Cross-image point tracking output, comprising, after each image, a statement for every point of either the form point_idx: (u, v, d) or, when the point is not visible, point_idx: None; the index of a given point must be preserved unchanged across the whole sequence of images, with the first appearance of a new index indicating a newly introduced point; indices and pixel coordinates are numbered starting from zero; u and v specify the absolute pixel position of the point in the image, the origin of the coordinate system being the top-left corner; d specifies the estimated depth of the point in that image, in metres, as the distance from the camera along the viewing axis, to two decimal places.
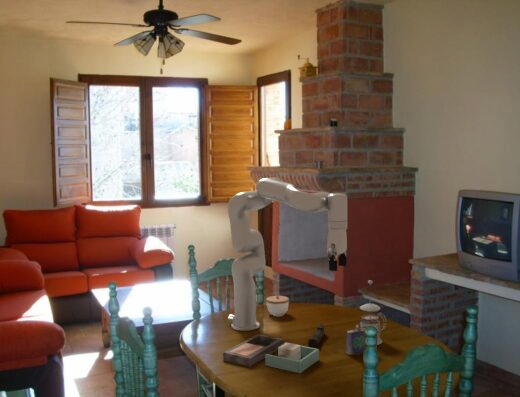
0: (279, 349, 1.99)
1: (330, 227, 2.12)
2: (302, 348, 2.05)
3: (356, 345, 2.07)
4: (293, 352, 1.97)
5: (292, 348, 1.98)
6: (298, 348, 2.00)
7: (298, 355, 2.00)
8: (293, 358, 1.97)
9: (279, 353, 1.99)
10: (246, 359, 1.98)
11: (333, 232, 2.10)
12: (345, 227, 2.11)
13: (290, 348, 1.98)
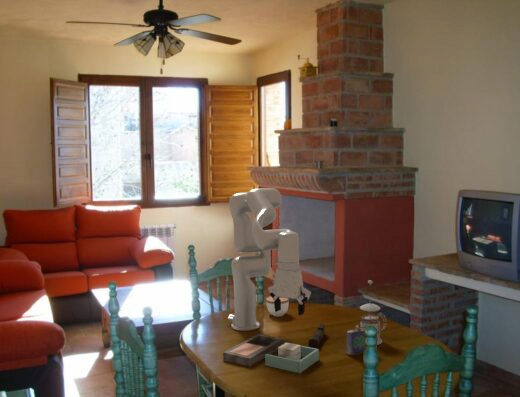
0: (279, 349, 1.99)
1: (294, 269, 1.95)
2: (302, 348, 2.05)
3: (356, 346, 2.07)
4: (293, 352, 1.97)
5: (292, 348, 1.98)
6: (298, 348, 2.00)
7: (298, 355, 2.00)
8: (293, 358, 1.97)
9: (279, 353, 1.99)
10: (246, 359, 1.98)
11: (300, 273, 1.96)
12: None
13: (290, 348, 1.98)
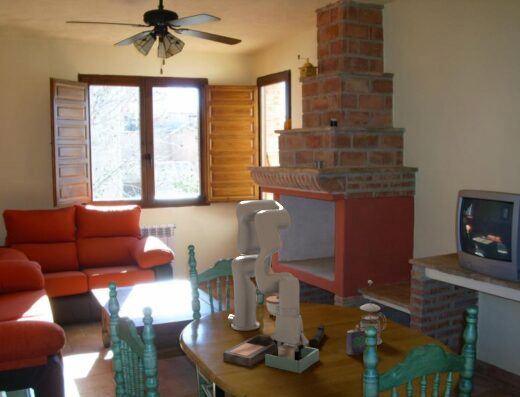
0: (279, 349, 1.99)
1: (294, 315, 1.96)
2: None
3: (356, 346, 2.07)
4: (293, 352, 1.97)
5: (292, 348, 1.98)
6: None
7: None
8: (293, 358, 1.97)
9: (279, 353, 1.99)
10: (246, 359, 1.98)
11: (300, 319, 1.97)
12: None
13: (290, 348, 1.98)
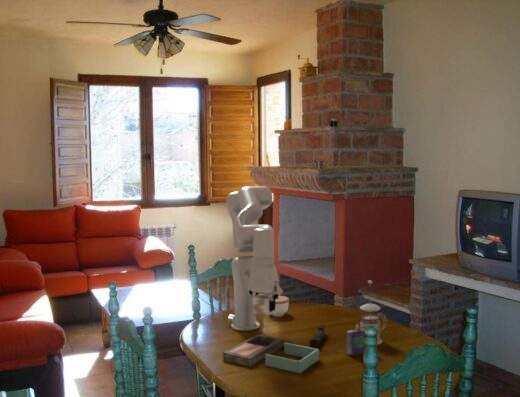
0: (254, 299, 2.00)
1: (269, 264, 1.97)
2: (302, 348, 2.05)
3: (356, 345, 2.07)
4: (268, 301, 1.98)
5: (267, 297, 1.99)
6: None
7: None
8: (268, 307, 1.98)
9: (254, 303, 2.01)
10: (246, 359, 1.98)
11: (274, 268, 1.98)
12: None
13: (265, 297, 2.00)
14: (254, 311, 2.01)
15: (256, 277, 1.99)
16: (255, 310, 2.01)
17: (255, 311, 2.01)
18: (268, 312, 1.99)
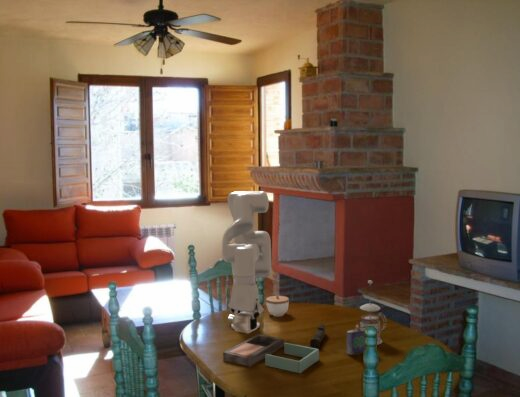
0: (235, 317, 2.03)
1: (250, 283, 2.00)
2: (302, 348, 2.05)
3: (356, 345, 2.07)
4: (248, 319, 2.00)
5: (248, 315, 2.02)
6: None
7: None
8: (248, 325, 2.01)
9: (235, 321, 2.03)
10: (246, 359, 1.98)
11: (255, 287, 2.01)
12: None
13: (246, 315, 2.02)
14: (236, 329, 2.03)
15: (237, 295, 2.02)
16: (236, 328, 2.03)
17: (236, 329, 2.03)
18: (249, 330, 2.01)
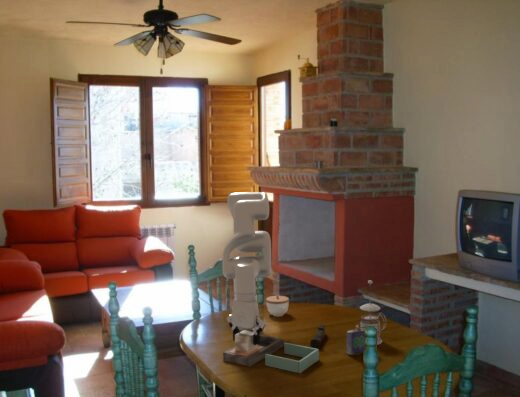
0: (236, 336, 2.04)
1: (250, 300, 2.00)
2: (302, 348, 2.05)
3: (356, 346, 2.07)
4: (249, 339, 2.01)
5: (248, 335, 2.02)
6: None
7: None
8: (249, 345, 2.01)
9: (236, 340, 2.04)
10: (246, 359, 1.98)
11: (256, 304, 2.02)
12: None
13: (246, 335, 2.03)
14: (236, 348, 2.04)
15: (238, 312, 2.03)
16: (237, 347, 2.04)
17: (237, 348, 2.04)
18: (249, 350, 2.02)
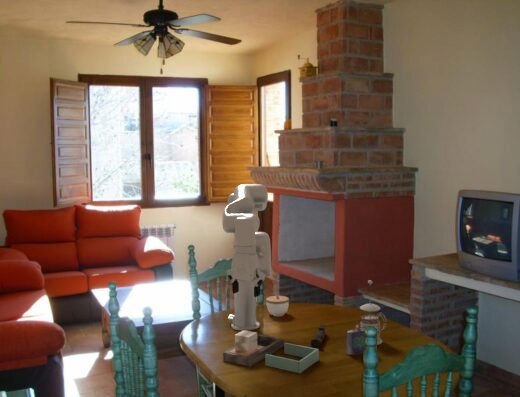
0: (236, 336, 2.04)
1: (250, 252, 2.01)
2: (302, 348, 2.05)
3: (356, 346, 2.07)
4: (249, 339, 2.01)
5: (248, 335, 2.02)
6: (254, 335, 2.04)
7: (254, 342, 2.04)
8: (249, 345, 2.01)
9: (236, 340, 2.04)
10: (246, 359, 1.98)
11: (256, 256, 2.02)
12: None
13: (246, 335, 2.03)
14: (236, 348, 2.04)
15: (238, 265, 2.03)
16: (237, 347, 2.04)
17: (237, 348, 2.04)
18: (249, 350, 2.02)
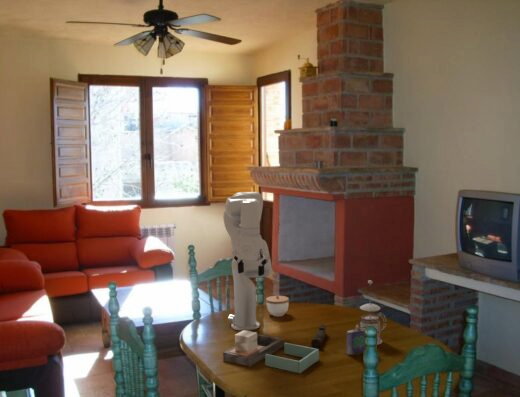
0: (236, 336, 2.04)
1: (255, 234, 2.15)
2: (302, 348, 2.05)
3: (356, 345, 2.07)
4: (249, 339, 2.01)
5: (248, 335, 2.02)
6: (254, 335, 2.04)
7: (254, 342, 2.04)
8: (249, 345, 2.01)
9: (236, 340, 2.04)
10: (246, 359, 1.98)
11: (260, 238, 2.16)
12: None
13: (246, 335, 2.03)
14: (236, 348, 2.04)
15: (243, 246, 2.17)
16: (237, 347, 2.04)
17: (237, 348, 2.04)
18: (249, 350, 2.02)
